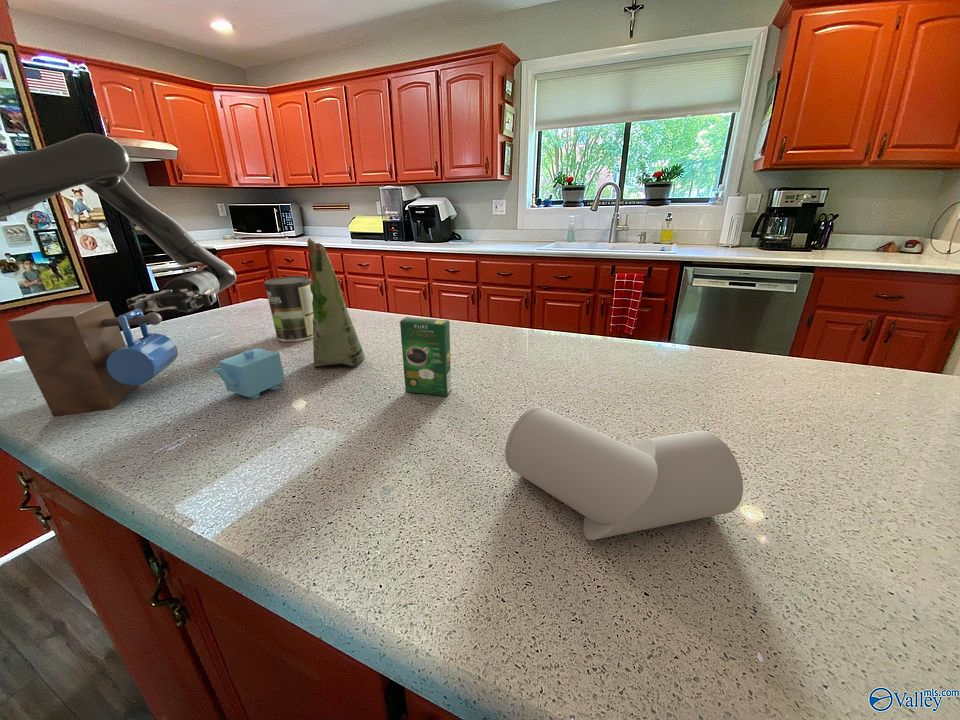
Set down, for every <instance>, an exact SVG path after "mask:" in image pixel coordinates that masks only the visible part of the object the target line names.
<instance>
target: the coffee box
mask: <svg viewBox="0 0 960 720" xmlns="http://www.w3.org/2000/svg"><path fill="white" fill-rule="evenodd" d="M399 327H400V340H401V353H402V365H403V375H404V389H405V392H406V393H412V394H422V395H423V394H424V395H432V396H439V397H441V396H443V397H448V396H449V394H450V393H451V391H452V369H451V368H452V367H451V331H450V328H451V327H450V320H449V319H434V318H422V317H421V318H420V317H411V316H410V317H409V316H405V317H404V318H402V319H401V320H400V321H399Z"/></svg>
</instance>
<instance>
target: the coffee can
mask: <svg viewBox="0 0 960 720" xmlns="http://www.w3.org/2000/svg"><path fill="white" fill-rule="evenodd" d="M263 283H264V284H263V285H264V287H265V291H266V295H267V300H268V304H269V309H270V313H271V317H272V321H273V326H274V331H275V335H276V340H277V341H278V342H282V343H299V342H304V341H309V340H312V339H314V337H313V306H312V301H313V294H312V292H311V289H310V284H311V283H312V277H310V276H304V275H292V276H282V277H275V278H271V279H267V280H266V281H264V282H263Z"/></svg>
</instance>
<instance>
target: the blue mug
mask: <svg viewBox="0 0 960 720" xmlns="http://www.w3.org/2000/svg"><path fill="white" fill-rule="evenodd" d="M143 315H144V313H142V310H141V309H135V310H133V311H128V312H126V313H123V314H120V315H119V316H118V317H117V318H118V320H119V322H120V325H121V326H120V328H121V331H122V333H123V334H122V335H123V337H124V340H125V343H126V346H124V347H122V348H120V349H118V350H117V351H115V352H113V353H112V354H111V355H110V356H109V358H108V360H107V370H108V372H109V374H110V375H111V376H112V377H113V378H114V379H115V380H117V381H118V382H120V383H123V384H126V385H139V386H140V385H144V384H146V383H148V382H150V381H151V380H152V379H154V378H155V377H157V376H158V375H159V374H160V373H162V372H163V371H164V370H165V369H167V368H168V367H169V366H170V365H171V364H173V363H174V362H175V361H176V359H177V357H178V355H179V354H178V353H179V350H178V347H177V344H176V343H175V342H174V341H173V340H172V338H170V337H169V336H167V335H165V334H162V333H156V332H153V333H150V331H149V328H148V325H147V323H145V324H138V326H139V330H140V333H141V335H142V336H140V337H138V338H136V339H135V338H134V335H133V332H132V329H131V327H130V325H129V324H128V321H127V320H128V319H131V318H133V317H135V316H143Z"/></svg>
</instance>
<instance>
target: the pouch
mask: <svg viewBox="0 0 960 720" xmlns="http://www.w3.org/2000/svg"><path fill="white" fill-rule="evenodd" d="M306 243H307V250H308V252H307V253H308V254H307V259H308V262H309V270H308V273H309V274H310V276H311V281H312V282H311V284H310V289H311V292H312V294H313V301H312V306H313V337H314V338H312V339H313V340H312V346H313V347H312V349H313V366H314V368H316V367H317V368H318V367H322V366H339V365H344V366H345V365H346V366H350V367H356V366H358V365H359V364H361V363H363V362H364V360H365V358H366V354H365V352H364V350H363V347H362V344H361V342H360V339H359V337H358V334H357V331H356V329H355V326H354V323H353V321H352V318H351V316H350V313H349V310H348V308H347V304H346V302H345V299H344V296H343V294H342V291H341V287H340V284H339V279H338V277H337V275H336V273H335V271H334V267H333V265H332V261H331V259H330V257H329V255H328V252H327V251H328V250H327V249H326V247H325V245H323V244H322V243H321V242H316V241H315V240H314V239H311V238H310V237H308V239H307V241H306Z"/></svg>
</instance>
